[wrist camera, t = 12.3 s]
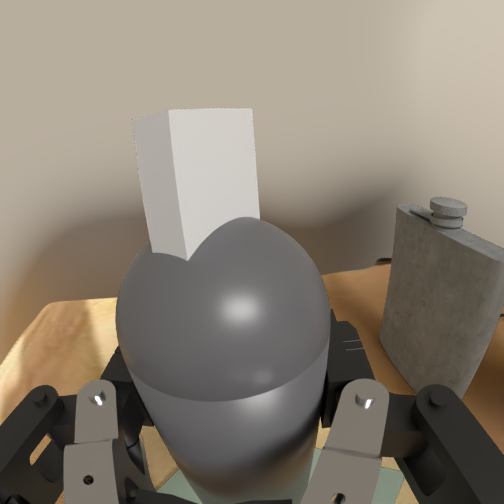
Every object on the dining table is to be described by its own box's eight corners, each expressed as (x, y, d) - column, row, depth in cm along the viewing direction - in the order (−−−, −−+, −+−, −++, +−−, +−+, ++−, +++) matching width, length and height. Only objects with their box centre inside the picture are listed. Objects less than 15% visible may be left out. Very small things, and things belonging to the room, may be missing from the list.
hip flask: (461, 408, 23) (530, 228, 15) (434, 423, 23) (506, 233, 15) (394, 329, 38) (414, 181, 30) (369, 336, 37) (385, 182, 29)
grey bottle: (237, 432, 15) (190, 120, 9) (323, 466, 13) (360, 107, 6) (179, 497, 11) (30, 147, 5) (272, 547, 9) (225, 79, 2)
